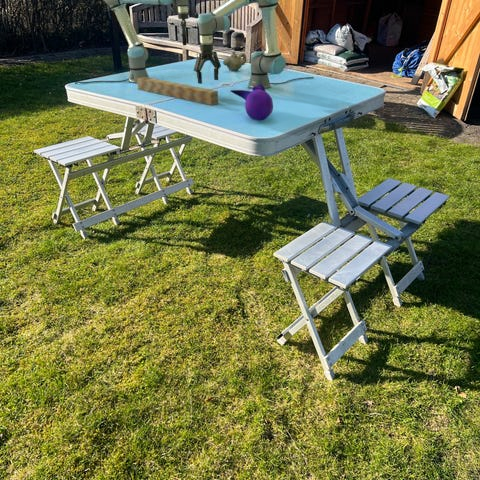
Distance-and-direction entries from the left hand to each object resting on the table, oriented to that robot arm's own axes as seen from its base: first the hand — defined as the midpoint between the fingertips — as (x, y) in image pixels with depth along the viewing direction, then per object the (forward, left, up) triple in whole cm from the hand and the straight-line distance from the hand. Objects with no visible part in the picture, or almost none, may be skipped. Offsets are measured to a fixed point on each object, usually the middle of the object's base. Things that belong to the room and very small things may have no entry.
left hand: (184, 44), depth 340 cm
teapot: (+41, +8, -24) cm, 48 cm away
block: (-21, -62, -24) cm, 70 cm away
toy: (+10, -131, -24) cm, 134 cm away
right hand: (-4, -90, -11) cm, 91 cm away
